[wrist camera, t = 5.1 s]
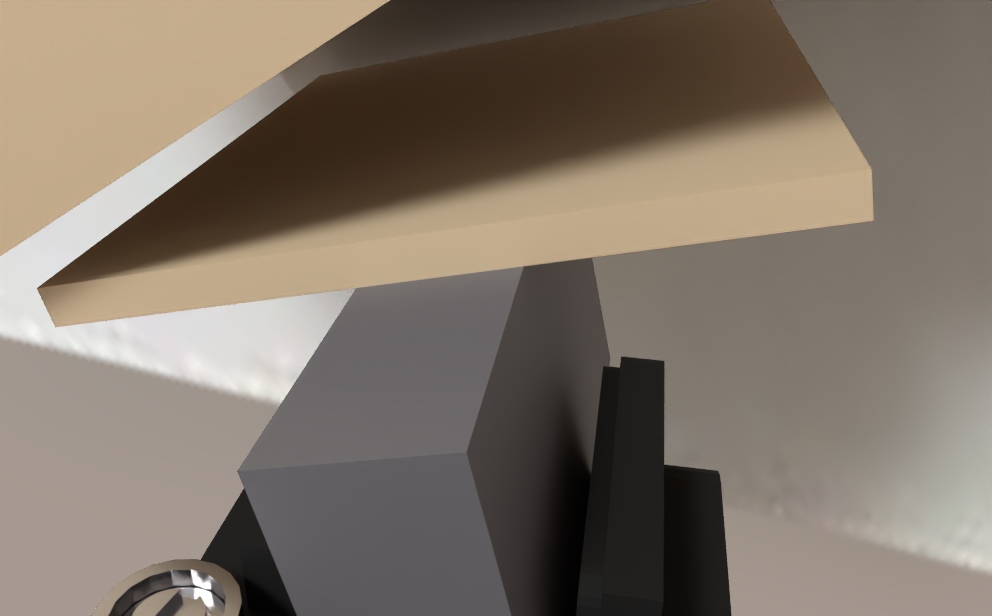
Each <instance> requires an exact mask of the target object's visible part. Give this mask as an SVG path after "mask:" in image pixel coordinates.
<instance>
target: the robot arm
mask: <svg viewBox="0 0 992 616" xmlns="http://www.w3.org/2000/svg"><path fill="white" fill-rule="evenodd" d="M91 616H297V615H296V612H295V610H294V607H293V605H292V602H291V600H290V598H289V595H288V593H287V590H286V588H285V585H284V583H283V581H282V578H281V576H280V573H279V571H278V568H277V566H276V564H275V561H274V559H273V556H272V554H271V551H270V549H269V547H268V544H267V542H266V539H265V537H264V535H263V532H262V530H261V527H260V525H259V522H258V520H257V518H256V515H255V513H254V510H253V508H252V505H251V503H250V501H249V498H248V496H247V493H246V491H245V488H244V489H243V491H242V493H241V494H240V496H239V498H238V499H237V501H236V502H235V504H234V506H233V507H232V509H231V511H230V512H229V514H228V516H227V517H226V519H225V521H224V522H223V524H222V525H221V527H220V529H219V530H218V532H217V534H216V535H215V537H214V539H213V540H212V542H211V544H210V545H209V547H208V548H207V550H206V552H205V553H204V555H203V557H202V558H201V560H197V559H187V560H186V559H185V560H171V561H167V562H163V563H158V564H154V565H151V566H149V567H146V568H144V569H142V570H140V571H137V572H135V573H133V574H131V575H130V576H128V577H127V578H125V579H124V580H123V581H121V582H120V583H119V584H117V585H116V586H114V587H113V588H112V589H111V590H110V591H109V593H108V594H107V595H106V596H105V597H104V598H103V599H102V600H101V602H100V603H99V604H98V606H97V607H96V609H95V610H94V612H93V613H92V615H91ZM576 616H731V605H730V593H729V579H728V567H727V554H726V541H725V529H724V516H723V503H722V491H721V480H720V474H719V472H718V471H714V470H705V469H697V468H688V467H680V466H671V465H664V361H660V360H650V359H640V358H630V357H621V363H620V368H617V367H607V366H603V372H602V381H601V390H600V399H599V408H598V417H597V426H596V435H595V444H594V453H593V462H592V471H591V480H590V489H589V498H588V507H587V516H586V525H585V533H584V542H583V551H582V560H581V569H580V579H579V589H578V599H577V609H576Z"/></svg>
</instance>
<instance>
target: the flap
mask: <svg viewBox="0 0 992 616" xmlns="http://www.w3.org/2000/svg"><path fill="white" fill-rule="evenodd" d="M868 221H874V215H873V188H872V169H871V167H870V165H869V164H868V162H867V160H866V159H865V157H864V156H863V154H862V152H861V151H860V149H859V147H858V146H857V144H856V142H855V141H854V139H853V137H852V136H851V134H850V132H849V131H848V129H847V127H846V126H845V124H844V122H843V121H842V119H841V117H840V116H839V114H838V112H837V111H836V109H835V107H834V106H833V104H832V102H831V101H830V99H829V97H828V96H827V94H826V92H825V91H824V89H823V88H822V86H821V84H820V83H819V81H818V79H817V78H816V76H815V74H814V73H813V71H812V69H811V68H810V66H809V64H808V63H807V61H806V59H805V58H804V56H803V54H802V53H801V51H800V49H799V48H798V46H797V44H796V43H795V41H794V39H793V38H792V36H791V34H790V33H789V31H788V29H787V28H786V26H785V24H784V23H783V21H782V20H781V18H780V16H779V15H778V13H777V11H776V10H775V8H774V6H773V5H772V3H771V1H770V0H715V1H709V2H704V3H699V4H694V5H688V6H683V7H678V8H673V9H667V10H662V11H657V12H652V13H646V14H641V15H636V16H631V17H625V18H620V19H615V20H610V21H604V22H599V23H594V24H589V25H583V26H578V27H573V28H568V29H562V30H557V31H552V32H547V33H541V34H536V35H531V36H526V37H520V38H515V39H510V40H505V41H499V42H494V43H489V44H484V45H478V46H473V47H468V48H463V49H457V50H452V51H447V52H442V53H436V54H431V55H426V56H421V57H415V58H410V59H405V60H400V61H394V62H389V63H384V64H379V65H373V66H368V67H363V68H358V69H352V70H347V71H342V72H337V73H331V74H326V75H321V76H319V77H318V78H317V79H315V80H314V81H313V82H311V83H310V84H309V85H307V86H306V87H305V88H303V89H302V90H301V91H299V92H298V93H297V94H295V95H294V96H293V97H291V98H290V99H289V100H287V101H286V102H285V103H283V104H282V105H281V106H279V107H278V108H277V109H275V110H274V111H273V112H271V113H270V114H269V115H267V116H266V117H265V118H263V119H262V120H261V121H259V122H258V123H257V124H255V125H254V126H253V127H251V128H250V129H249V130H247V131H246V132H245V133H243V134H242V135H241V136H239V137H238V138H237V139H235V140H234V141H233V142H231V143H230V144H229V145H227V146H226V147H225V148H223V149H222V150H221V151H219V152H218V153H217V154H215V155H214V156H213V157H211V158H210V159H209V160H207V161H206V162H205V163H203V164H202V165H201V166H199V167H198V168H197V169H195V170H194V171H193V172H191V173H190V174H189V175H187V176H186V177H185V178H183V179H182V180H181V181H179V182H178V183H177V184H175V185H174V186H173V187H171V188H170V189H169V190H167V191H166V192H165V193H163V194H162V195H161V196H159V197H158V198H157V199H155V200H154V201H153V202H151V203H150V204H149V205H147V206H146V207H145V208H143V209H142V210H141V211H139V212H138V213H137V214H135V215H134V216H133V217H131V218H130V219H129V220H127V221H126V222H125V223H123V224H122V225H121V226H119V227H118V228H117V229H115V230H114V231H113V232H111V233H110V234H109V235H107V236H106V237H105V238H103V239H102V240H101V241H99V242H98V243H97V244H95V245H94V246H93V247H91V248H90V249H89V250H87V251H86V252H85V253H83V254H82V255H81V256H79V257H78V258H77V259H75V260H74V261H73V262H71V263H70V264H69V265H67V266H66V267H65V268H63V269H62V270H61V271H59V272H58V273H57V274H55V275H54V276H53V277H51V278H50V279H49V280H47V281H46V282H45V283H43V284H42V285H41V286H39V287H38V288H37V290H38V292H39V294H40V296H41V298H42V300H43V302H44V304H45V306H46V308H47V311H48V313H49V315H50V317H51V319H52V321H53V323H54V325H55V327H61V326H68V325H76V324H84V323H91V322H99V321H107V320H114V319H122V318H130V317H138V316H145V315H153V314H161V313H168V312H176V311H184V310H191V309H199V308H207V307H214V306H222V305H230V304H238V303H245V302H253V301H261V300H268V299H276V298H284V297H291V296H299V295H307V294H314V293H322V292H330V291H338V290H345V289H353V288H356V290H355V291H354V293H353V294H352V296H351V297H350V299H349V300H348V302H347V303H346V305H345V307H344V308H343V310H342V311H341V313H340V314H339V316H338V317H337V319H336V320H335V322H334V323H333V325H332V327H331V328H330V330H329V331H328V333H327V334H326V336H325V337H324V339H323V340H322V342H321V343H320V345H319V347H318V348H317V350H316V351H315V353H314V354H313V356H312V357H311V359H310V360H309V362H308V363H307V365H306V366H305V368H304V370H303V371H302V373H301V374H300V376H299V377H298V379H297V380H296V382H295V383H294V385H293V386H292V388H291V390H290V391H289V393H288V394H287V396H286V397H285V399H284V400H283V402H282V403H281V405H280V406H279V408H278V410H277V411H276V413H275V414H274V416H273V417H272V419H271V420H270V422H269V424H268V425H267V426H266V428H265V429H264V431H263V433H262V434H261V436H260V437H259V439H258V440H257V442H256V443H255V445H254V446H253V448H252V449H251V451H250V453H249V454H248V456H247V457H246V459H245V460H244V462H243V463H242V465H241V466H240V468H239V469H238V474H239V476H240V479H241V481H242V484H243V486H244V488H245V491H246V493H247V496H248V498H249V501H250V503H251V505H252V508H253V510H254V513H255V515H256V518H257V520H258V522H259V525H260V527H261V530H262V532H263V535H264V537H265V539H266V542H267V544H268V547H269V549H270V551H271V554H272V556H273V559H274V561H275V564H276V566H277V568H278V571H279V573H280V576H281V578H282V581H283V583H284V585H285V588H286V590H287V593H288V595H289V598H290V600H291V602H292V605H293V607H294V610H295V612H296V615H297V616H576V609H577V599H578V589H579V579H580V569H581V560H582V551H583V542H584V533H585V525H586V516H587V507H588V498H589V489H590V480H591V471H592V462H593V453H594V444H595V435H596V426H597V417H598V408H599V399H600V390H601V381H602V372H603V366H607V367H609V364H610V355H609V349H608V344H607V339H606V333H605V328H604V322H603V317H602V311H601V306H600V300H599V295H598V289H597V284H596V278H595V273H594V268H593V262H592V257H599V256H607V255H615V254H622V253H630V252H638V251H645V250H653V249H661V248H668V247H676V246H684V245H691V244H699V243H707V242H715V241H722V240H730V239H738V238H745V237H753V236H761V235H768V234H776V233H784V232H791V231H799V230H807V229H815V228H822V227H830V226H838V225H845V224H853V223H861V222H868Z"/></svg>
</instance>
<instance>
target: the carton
mask: <svg viewBox="0 0 992 616" xmlns="http://www.w3.org/2000/svg"><path fill="white" fill-rule="evenodd" d="M388 1H390V0H0V256H1V255H3V254H4V253H6V252H7V251H9V250H10V249H12V248H13V247H15V246H17V245H18V244H20V243H21V242H23V241H24V240H26V239H27V238H29V237H30V236H32V235H33V234H35V233H36V232H38V231H39V230H41V229H42V228H44V227H45V226H47V225H49V224H50V223H52V222H53V221H55V220H56V219H58V218H59V217H61V216H62V215H64V214H65V213H67V212H68V211H70V210H71V209H73V208H74V207H76V206H77V205H79V204H80V203H82V202H84V201H85V200H87V199H88V198H90V197H91V196H93V195H94V194H96V193H97V192H99V191H100V190H102V189H103V188H105V187H106V186H108V185H109V184H111V183H112V182H114V181H116V180H117V179H119V178H120V177H122V176H123V175H125V174H126V173H128V172H129V171H131V170H132V169H134V168H135V167H137V166H138V165H140V164H141V163H143V162H144V161H146V160H147V159H149V158H151V157H152V156H154V155H155V154H157V153H158V152H160V151H161V150H163V149H164V148H166V147H167V146H169V145H170V144H172V143H173V142H175V141H176V140H178V139H179V138H181V137H182V136H184V135H186V134H187V133H189V132H190V131H192V130H193V129H195V128H196V127H198V126H199V125H201V124H202V123H204V122H205V121H207V120H208V119H210V118H211V117H213V116H214V115H216V114H218V113H219V112H221V111H222V110H224V109H225V108H227V107H228V106H230V105H231V104H233V103H234V102H236V101H237V100H239V99H240V98H242V97H243V96H245V95H246V94H248V93H249V92H251V91H253V90H254V89H256V88H257V87H259V86H260V85H262V84H263V83H265V82H266V81H268V80H269V79H271V78H272V77H274V76H275V75H277V74H278V73H280V72H281V71H283V70H285V69H286V68H288V67H289V66H291V65H292V64H294V63H295V62H297V61H298V60H300V59H301V58H303V57H304V56H306V55H307V54H309V53H310V52H312V51H313V50H315V49H316V48H318V47H320V46H321V45H323V44H324V43H326V42H327V41H329V40H330V39H332V38H333V37H335V36H336V35H338V34H339V33H341V32H342V31H344V30H345V29H347V28H348V27H350V26H351V25H353V24H355V23H356V22H358V21H359V20H361V19H362V18H364V17H365V16H367V15H368V14H370V13H371V12H373V11H374V10H376V9H377V8H379V7H380V6H382V5H383V4H385V3H387V2H388Z"/></svg>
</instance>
